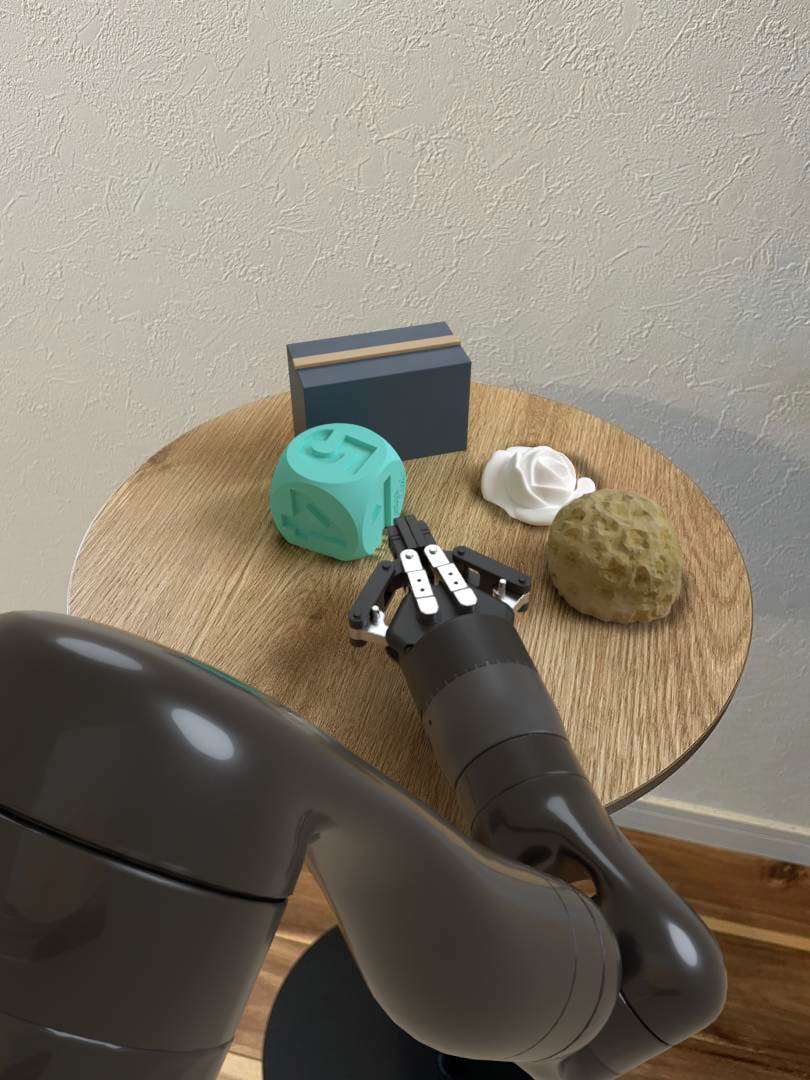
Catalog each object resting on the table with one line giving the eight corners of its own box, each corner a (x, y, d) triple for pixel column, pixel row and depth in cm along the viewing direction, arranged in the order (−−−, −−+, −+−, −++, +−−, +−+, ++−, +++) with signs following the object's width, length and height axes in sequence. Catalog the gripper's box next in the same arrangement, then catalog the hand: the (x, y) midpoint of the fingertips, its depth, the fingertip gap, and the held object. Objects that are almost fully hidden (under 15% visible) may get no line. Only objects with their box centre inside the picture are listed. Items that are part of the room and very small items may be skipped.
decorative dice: (362, 577, 74) (359, 496, 69) (273, 547, 77) (263, 467, 72) (407, 516, 80) (407, 437, 74) (322, 490, 82) (316, 412, 77)
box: (310, 487, 83) (302, 385, 76) (294, 441, 88) (285, 340, 81) (467, 460, 86) (472, 358, 79) (442, 416, 91) (445, 317, 84)
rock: (586, 677, 72) (670, 629, 64) (497, 554, 73) (568, 492, 65) (660, 619, 77) (745, 568, 69) (575, 506, 79) (650, 443, 71)
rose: (466, 427, 82) (575, 412, 83) (464, 469, 85) (569, 454, 86) (502, 501, 74) (620, 483, 76) (498, 544, 77) (612, 525, 79)
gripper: (598, 643, 56) (493, 467, 68) (376, 695, 53) (308, 501, 65) (582, 724, 61) (487, 546, 73) (378, 775, 58) (315, 581, 70)
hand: (402, 525), depth 69 cm, fingers closed
